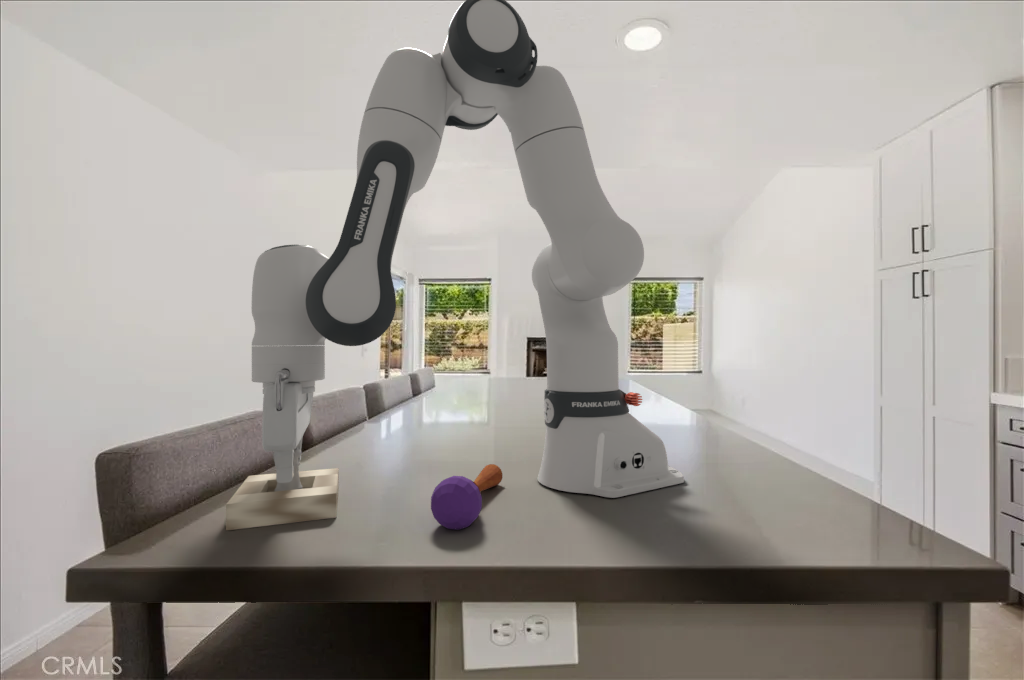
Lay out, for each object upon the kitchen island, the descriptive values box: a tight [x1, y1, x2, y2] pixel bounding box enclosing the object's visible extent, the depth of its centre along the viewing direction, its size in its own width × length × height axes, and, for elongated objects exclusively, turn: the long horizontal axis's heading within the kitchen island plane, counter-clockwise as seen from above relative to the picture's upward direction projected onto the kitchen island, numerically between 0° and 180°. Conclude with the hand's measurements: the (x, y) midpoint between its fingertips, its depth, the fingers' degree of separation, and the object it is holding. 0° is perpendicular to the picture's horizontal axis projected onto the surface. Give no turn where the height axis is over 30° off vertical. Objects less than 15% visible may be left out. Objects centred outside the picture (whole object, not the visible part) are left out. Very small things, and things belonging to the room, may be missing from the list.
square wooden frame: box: [225, 467, 340, 531], centre depth 63 cm, size 12×13×3 cm
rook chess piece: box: [274, 445, 303, 491], centre depth 63 cm, size 4×4×8 cm
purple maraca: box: [430, 463, 503, 531], centre depth 63 cm, size 6×6×20 cm
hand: (289, 471), depth 63 cm, fingers open, 8 cm apart
